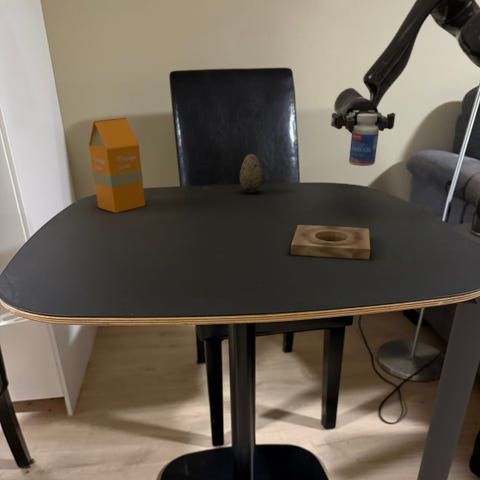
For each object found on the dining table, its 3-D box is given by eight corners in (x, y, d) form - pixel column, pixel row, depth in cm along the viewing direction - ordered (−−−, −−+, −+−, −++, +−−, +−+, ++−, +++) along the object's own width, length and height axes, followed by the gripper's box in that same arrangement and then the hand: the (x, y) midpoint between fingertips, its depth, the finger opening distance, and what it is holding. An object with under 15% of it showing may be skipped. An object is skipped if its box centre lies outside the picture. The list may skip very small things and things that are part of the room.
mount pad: (367, 237, 96) (368, 228, 95) (369, 259, 85) (370, 249, 84) (297, 234, 98) (297, 224, 97) (290, 254, 88) (291, 244, 87)
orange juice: (145, 205, 119) (136, 118, 110) (115, 213, 114) (102, 122, 104) (127, 200, 124) (116, 116, 114) (97, 207, 118) (83, 119, 109)
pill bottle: (345, 165, 102) (350, 115, 97) (352, 160, 106) (356, 112, 101) (372, 167, 99) (377, 116, 95) (377, 162, 104) (383, 113, 99)
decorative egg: (237, 194, 128) (237, 155, 123) (242, 189, 133) (242, 151, 128) (259, 195, 127) (260, 156, 122) (263, 190, 132) (264, 152, 127)
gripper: (389, 133, 112) (401, 145, 97) (327, 133, 114) (329, 144, 99) (393, 98, 108) (407, 104, 94) (329, 98, 110) (332, 105, 95)
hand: (367, 125), depth 97 cm, fingers closed on pill bottle, 5 cm apart
